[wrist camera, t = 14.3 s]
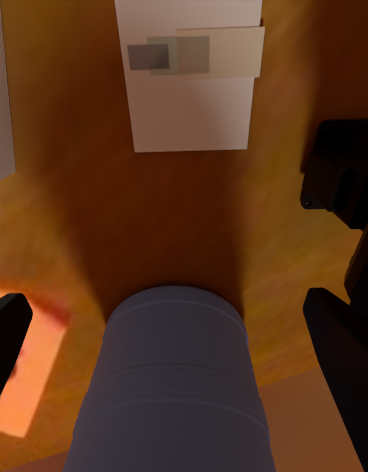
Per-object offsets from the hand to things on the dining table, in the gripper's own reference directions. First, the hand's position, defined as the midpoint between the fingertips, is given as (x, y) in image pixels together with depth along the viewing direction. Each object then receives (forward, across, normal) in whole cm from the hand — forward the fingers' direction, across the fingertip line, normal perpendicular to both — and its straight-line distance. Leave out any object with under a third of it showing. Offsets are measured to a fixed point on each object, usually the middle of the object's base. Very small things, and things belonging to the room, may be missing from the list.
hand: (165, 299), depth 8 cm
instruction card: (+13, -1, -7) cm, 15 cm away
